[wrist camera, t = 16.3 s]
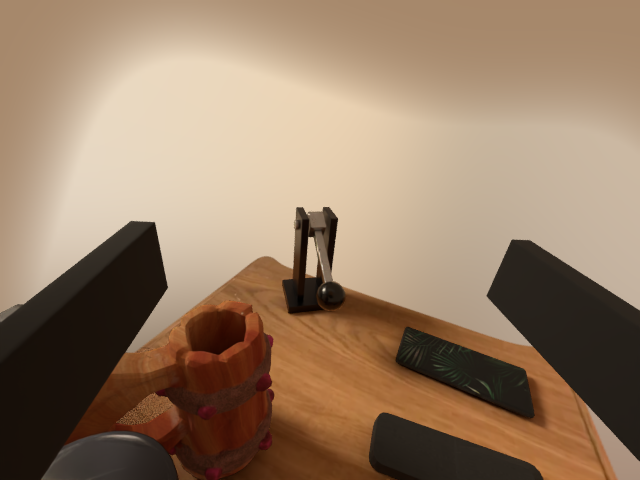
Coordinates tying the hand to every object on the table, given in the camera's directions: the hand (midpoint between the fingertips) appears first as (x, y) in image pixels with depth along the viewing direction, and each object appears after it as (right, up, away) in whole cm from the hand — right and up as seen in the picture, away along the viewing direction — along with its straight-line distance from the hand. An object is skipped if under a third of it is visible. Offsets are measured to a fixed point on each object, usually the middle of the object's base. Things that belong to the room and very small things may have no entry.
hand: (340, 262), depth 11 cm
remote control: (+11, -21, +15) cm, 28 cm away
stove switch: (-2, -8, +36) cm, 37 cm away
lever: (-1, -3, +28) cm, 28 cm away
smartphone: (+17, -16, +25) cm, 34 cm away
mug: (-11, -19, +15) cm, 26 cm away
